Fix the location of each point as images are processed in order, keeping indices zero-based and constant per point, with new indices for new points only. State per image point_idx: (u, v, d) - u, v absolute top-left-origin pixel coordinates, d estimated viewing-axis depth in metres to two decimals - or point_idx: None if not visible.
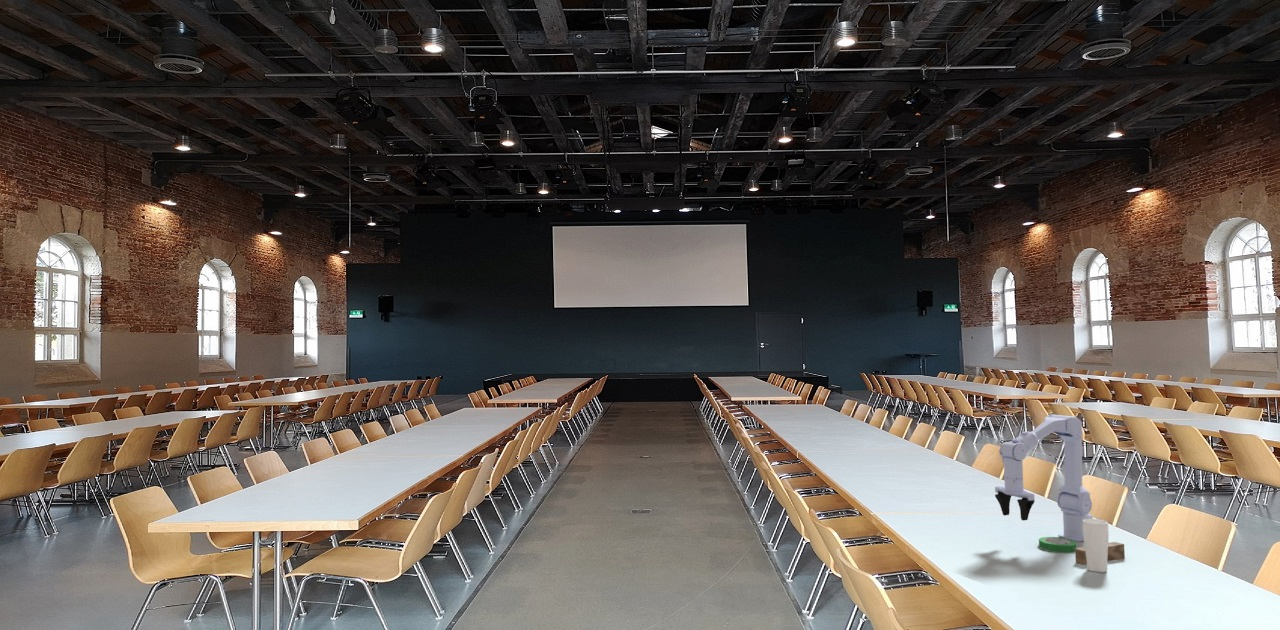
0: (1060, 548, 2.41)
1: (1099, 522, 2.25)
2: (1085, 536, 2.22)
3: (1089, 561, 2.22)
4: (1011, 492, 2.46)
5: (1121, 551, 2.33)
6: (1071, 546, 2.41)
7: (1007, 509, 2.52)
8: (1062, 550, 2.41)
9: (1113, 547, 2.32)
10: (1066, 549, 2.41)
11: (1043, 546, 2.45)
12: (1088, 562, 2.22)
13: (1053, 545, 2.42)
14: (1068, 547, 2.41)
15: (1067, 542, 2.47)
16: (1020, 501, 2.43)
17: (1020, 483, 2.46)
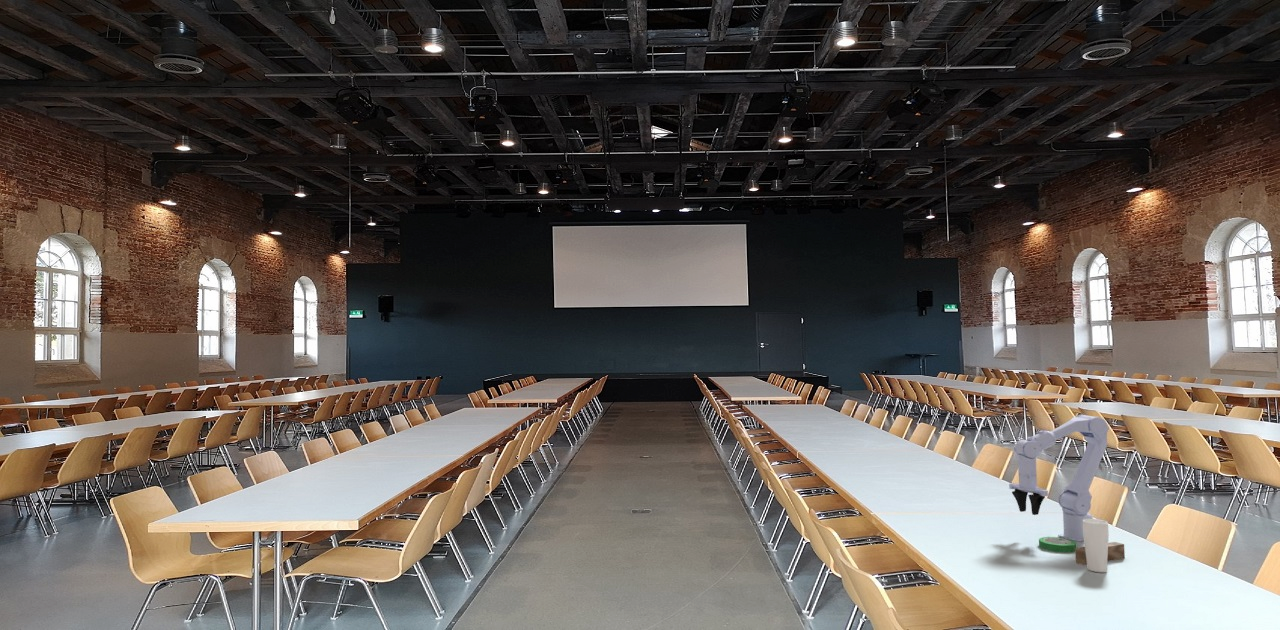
0: (1060, 548, 2.41)
1: (1099, 522, 2.25)
2: (1085, 536, 2.22)
3: (1089, 561, 2.22)
4: (1025, 488, 2.55)
5: (1121, 551, 2.33)
6: (1071, 546, 2.41)
7: (1024, 505, 2.59)
8: (1062, 550, 2.41)
9: (1113, 547, 2.32)
10: (1066, 549, 2.41)
11: (1043, 546, 2.45)
12: (1088, 562, 2.22)
13: (1053, 545, 2.42)
14: (1068, 547, 2.41)
15: (1067, 542, 2.47)
16: (1031, 496, 2.53)
17: (1034, 479, 2.55)
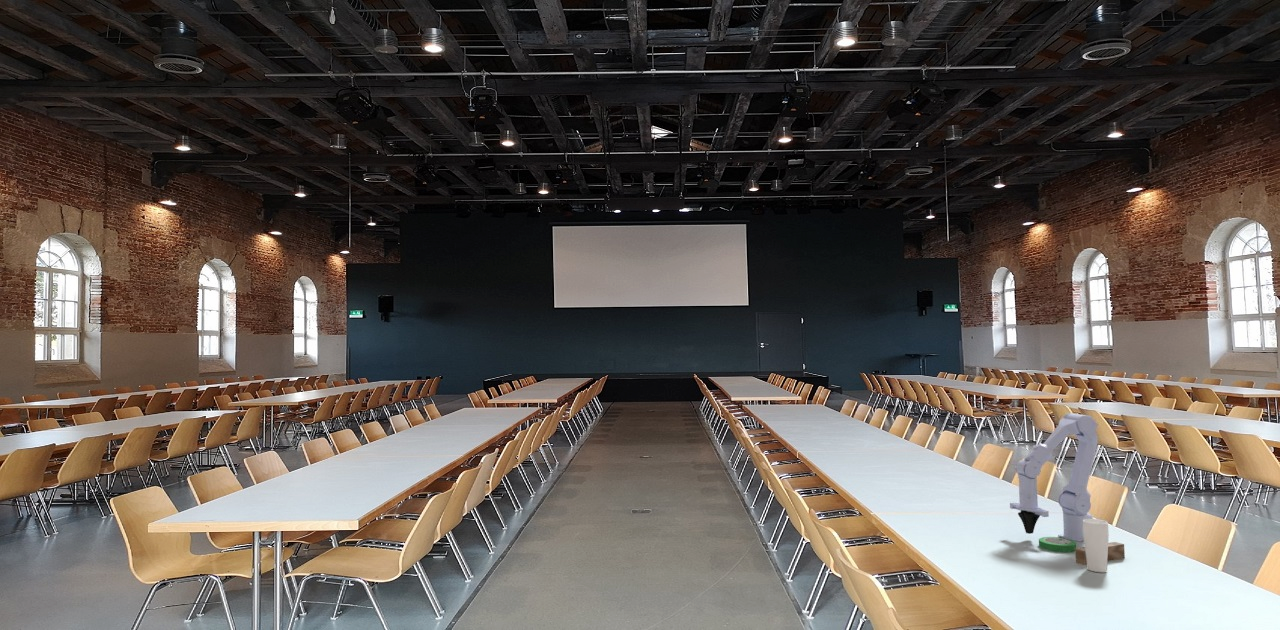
0: (1060, 548, 2.41)
1: (1099, 522, 2.25)
2: (1085, 536, 2.22)
3: (1089, 561, 2.22)
4: (1026, 508, 2.55)
5: (1121, 551, 2.33)
6: (1071, 546, 2.41)
7: None
8: (1062, 550, 2.41)
9: (1113, 547, 2.32)
10: (1066, 549, 2.41)
11: (1043, 546, 2.45)
12: (1088, 562, 2.22)
13: (1053, 545, 2.42)
14: (1068, 547, 2.41)
15: (1067, 542, 2.47)
16: (1026, 515, 2.55)
17: (1034, 499, 2.54)
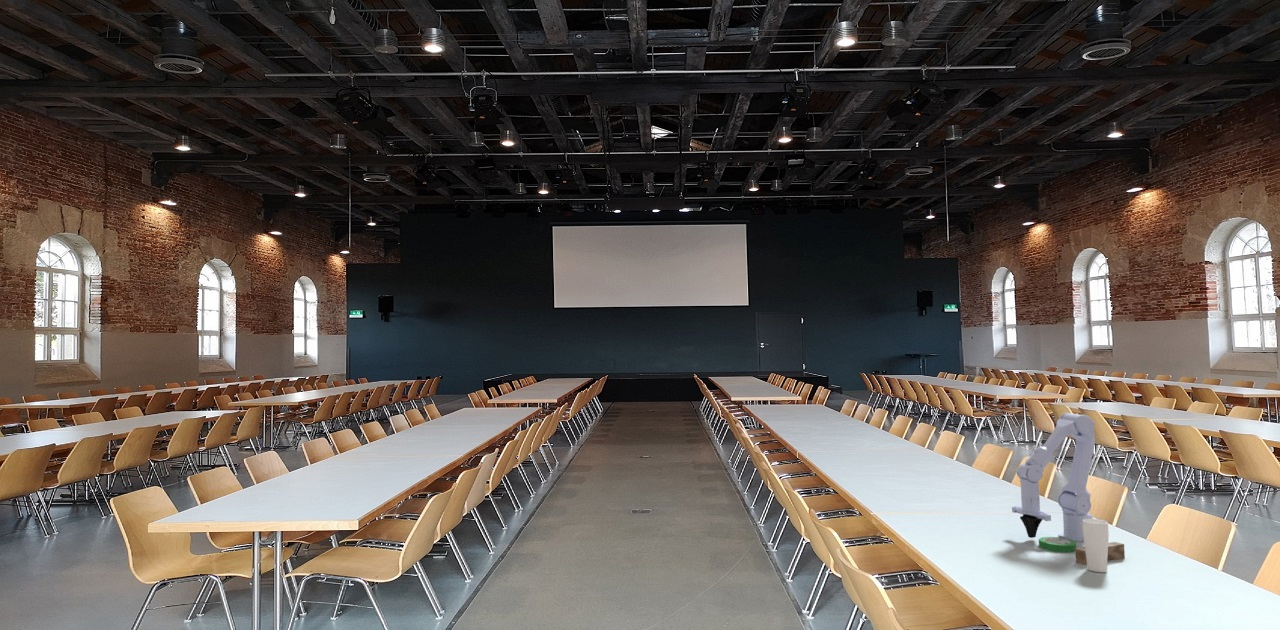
0: (1060, 548, 2.41)
1: (1099, 522, 2.25)
2: (1085, 536, 2.22)
3: (1089, 561, 2.22)
4: (1028, 512, 2.54)
5: (1121, 551, 2.33)
6: (1071, 546, 2.41)
7: None
8: (1062, 550, 2.41)
9: (1113, 547, 2.32)
10: (1066, 549, 2.41)
11: (1043, 546, 2.45)
12: (1088, 562, 2.22)
13: (1053, 545, 2.42)
14: (1068, 547, 2.41)
15: (1067, 542, 2.47)
16: (1028, 519, 2.54)
17: (1037, 503, 2.54)
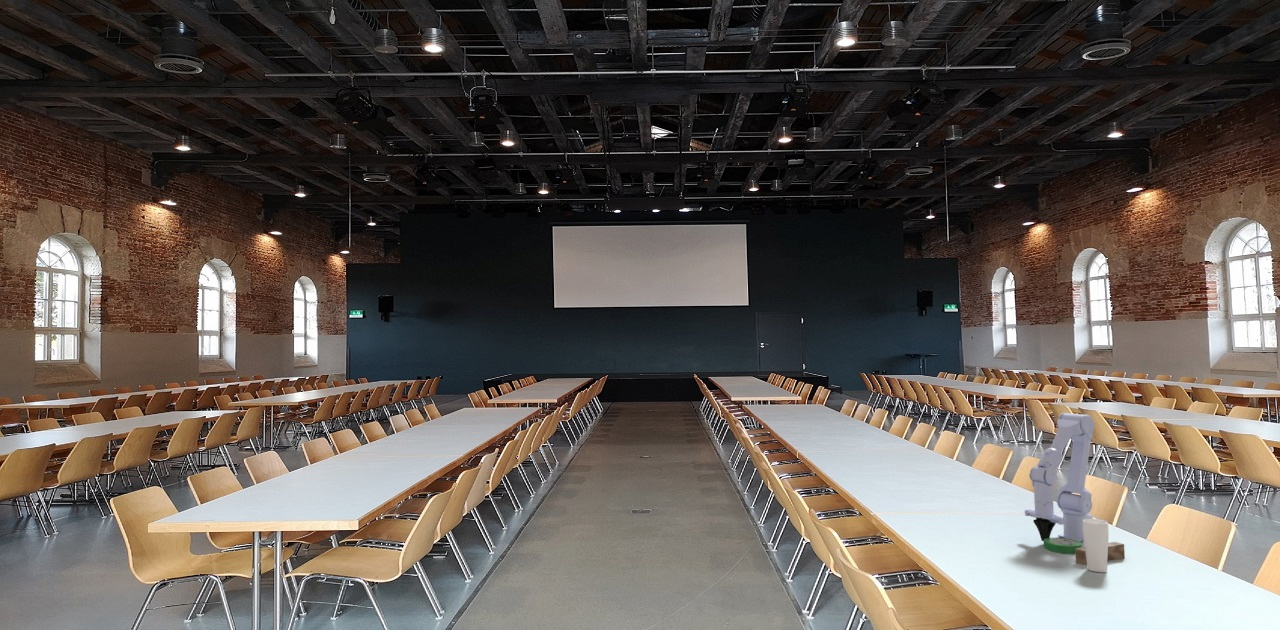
0: (1065, 549, 2.40)
1: (1099, 522, 2.25)
2: (1085, 536, 2.22)
3: (1089, 561, 2.22)
4: (1041, 516, 2.49)
5: (1121, 551, 2.33)
6: (1076, 547, 2.40)
7: None
8: (1067, 551, 2.39)
9: (1113, 547, 2.32)
10: (1071, 550, 2.39)
11: (1048, 546, 2.43)
12: (1088, 562, 2.22)
13: (1058, 546, 2.41)
14: (1073, 548, 2.39)
15: (1072, 543, 2.45)
16: (1042, 523, 2.49)
17: (1050, 507, 2.49)
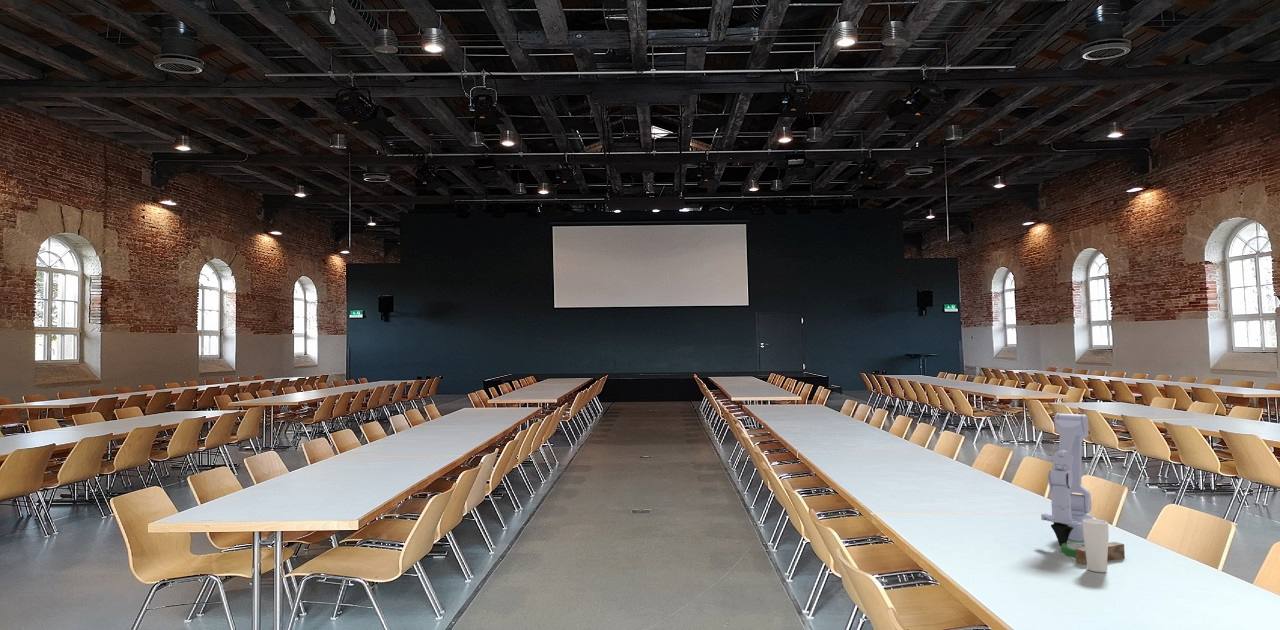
0: None
1: (1099, 522, 2.25)
2: (1085, 536, 2.22)
3: (1089, 561, 2.22)
4: (1059, 520, 2.43)
5: (1121, 551, 2.33)
6: None
7: None
8: None
9: (1113, 547, 2.32)
10: None
11: (1066, 552, 2.37)
12: (1088, 562, 2.22)
13: None
14: None
15: None
16: (1059, 527, 2.43)
17: (1068, 511, 2.42)
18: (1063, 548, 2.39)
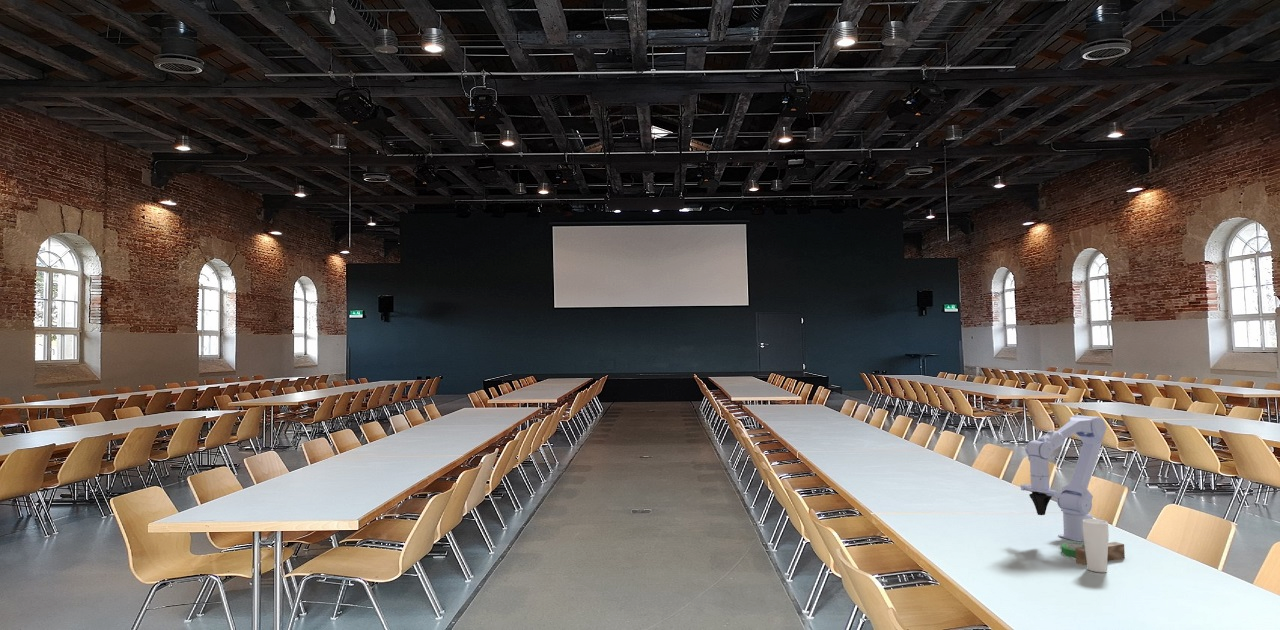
0: None
1: (1099, 522, 2.25)
2: (1085, 536, 2.22)
3: (1089, 561, 2.22)
4: (1037, 490, 2.50)
5: (1121, 551, 2.33)
6: None
7: None
8: None
9: (1113, 547, 2.32)
10: None
11: (1066, 552, 2.37)
12: (1088, 562, 2.22)
13: None
14: None
15: None
16: (1038, 496, 2.50)
17: (1046, 480, 2.50)
18: (1063, 549, 2.39)
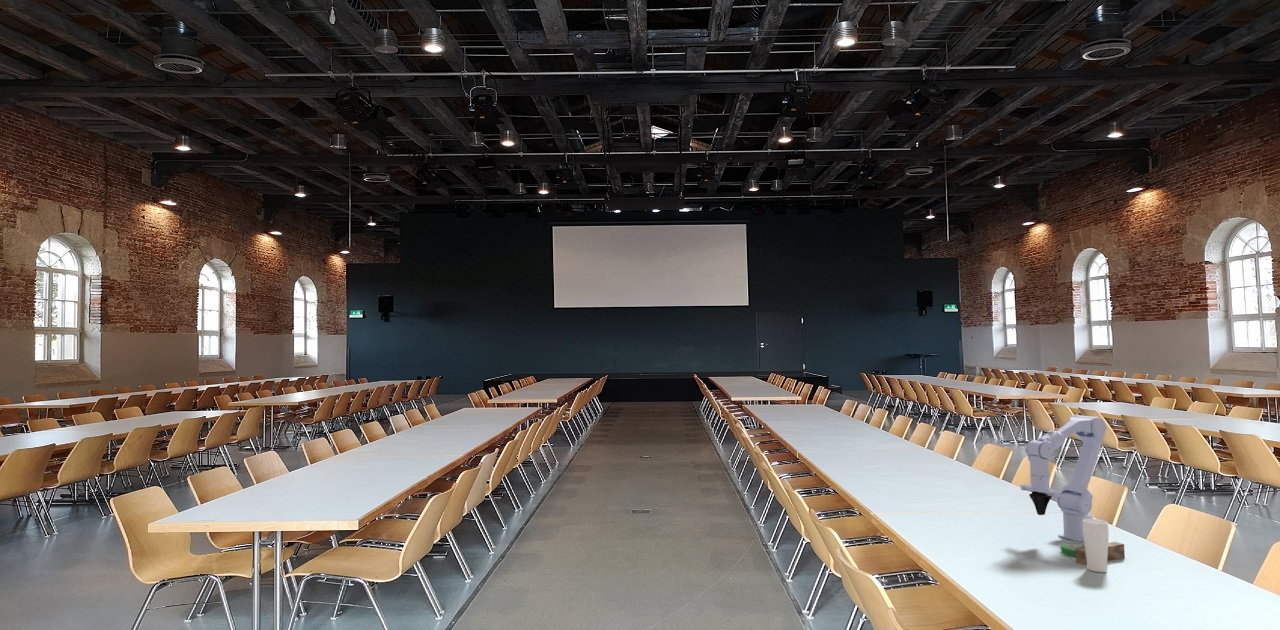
0: None
1: (1099, 522, 2.25)
2: (1085, 536, 2.22)
3: (1089, 561, 2.22)
4: (1037, 489, 2.50)
5: (1121, 551, 2.33)
6: None
7: None
8: None
9: (1113, 547, 2.32)
10: None
11: (1066, 552, 2.37)
12: (1088, 562, 2.22)
13: None
14: None
15: None
16: (1038, 496, 2.50)
17: (1046, 480, 2.50)
18: (1063, 549, 2.39)
